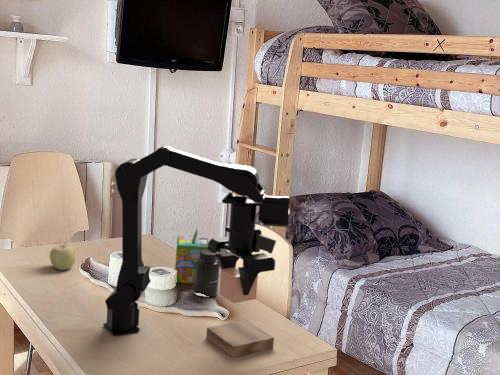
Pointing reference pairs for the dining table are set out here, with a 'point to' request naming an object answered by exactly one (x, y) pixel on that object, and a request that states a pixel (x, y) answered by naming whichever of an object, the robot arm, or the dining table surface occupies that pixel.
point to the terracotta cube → (235, 286)
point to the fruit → (63, 257)
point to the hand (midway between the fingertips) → (238, 290)
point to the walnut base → (239, 338)
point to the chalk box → (188, 256)
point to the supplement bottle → (206, 274)
